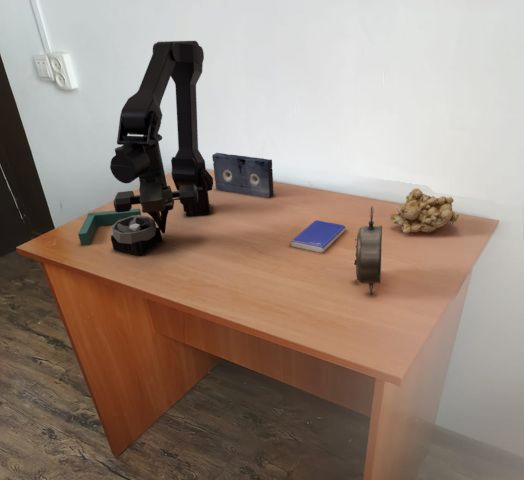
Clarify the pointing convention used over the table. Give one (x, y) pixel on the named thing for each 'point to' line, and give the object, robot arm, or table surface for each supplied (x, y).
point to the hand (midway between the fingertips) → (163, 232)
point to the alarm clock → (369, 254)
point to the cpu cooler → (135, 235)
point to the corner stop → (101, 222)
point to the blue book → (318, 236)
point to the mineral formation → (424, 212)
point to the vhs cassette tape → (243, 174)
